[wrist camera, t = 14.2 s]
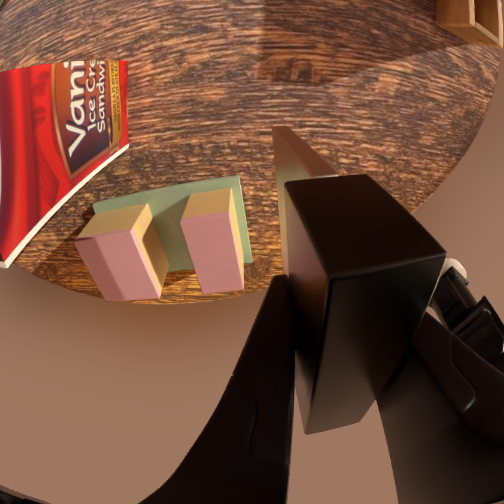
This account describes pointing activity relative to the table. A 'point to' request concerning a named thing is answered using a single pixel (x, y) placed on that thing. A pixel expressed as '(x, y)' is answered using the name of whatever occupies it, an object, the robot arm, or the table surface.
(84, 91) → the ice cream box
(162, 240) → the cake plate
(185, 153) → the table surface
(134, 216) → the cake
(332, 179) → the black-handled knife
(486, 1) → the knife holder
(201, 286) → the cake slice
